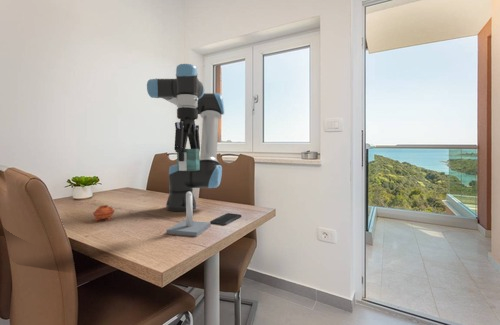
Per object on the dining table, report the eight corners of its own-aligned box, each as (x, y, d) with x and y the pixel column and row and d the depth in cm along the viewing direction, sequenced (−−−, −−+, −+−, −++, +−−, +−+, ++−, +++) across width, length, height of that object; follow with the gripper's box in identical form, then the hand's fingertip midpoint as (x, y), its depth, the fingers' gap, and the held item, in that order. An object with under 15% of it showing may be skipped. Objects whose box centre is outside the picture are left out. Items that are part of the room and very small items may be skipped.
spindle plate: (183, 223, 102) (182, 188, 101) (210, 226, 99) (210, 189, 98) (166, 233, 90) (165, 193, 89) (196, 236, 87) (196, 195, 86)
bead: (184, 169, 98) (184, 148, 97) (202, 169, 96) (202, 148, 95) (174, 170, 90) (173, 148, 90) (192, 171, 89) (192, 148, 88)
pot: (120, 217, 111) (116, 203, 109) (105, 226, 104) (101, 211, 102) (106, 214, 114) (103, 201, 112) (91, 223, 107) (87, 209, 105)
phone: (242, 214, 113) (225, 223, 99) (242, 217, 113) (225, 226, 99) (227, 212, 116) (208, 221, 103) (227, 215, 116) (208, 224, 103)
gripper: (182, 102, 81) (183, 172, 82) (208, 111, 101) (209, 167, 102) (162, 104, 83) (163, 171, 84) (191, 112, 103) (192, 167, 104)
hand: (188, 169), depth 93 cm, fingers closed on bead, 8 cm apart
